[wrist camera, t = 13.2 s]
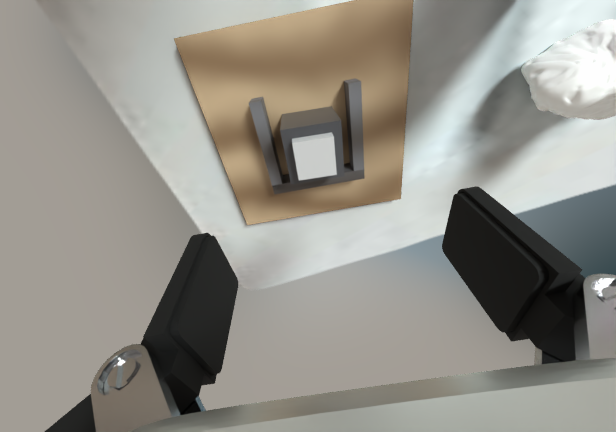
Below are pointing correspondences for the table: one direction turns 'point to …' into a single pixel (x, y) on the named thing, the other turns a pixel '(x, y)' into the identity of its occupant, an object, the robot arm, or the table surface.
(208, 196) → the table surface
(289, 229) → the table surface
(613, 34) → the bust
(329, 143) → the connector plug
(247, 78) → the end holder
